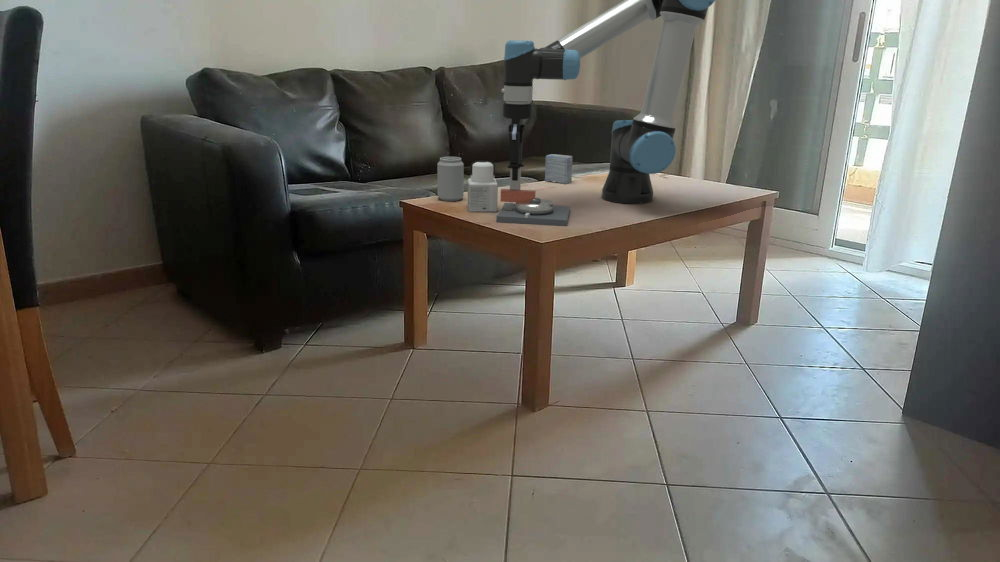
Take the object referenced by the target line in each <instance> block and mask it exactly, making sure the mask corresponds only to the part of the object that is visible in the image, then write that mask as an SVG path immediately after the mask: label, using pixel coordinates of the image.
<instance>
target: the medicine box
mask: <svg viewBox="0 0 1000 562" xmlns="http://www.w3.org/2000/svg"><path fill="white" fill-rule="evenodd" d="M573 160H574V159H573V156H572V155H567V154H566V155H564V154H555V153H554V154H553V153H551V154H547V155H545V164H544V165H545V171H544V173H545V174H544V182H547V181H555V182H558V183H557V184H563V185H567V184H570V183H572V178H573ZM555 182H554V183H555Z"/></svg>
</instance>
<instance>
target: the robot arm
mask: <svg viewBox="0 0 1000 562" xmlns="http://www.w3.org/2000/svg"><path fill="white" fill-rule="evenodd" d="M715 2H716V0H622V1H621V2H619V3H617V4H616V5H614V6H612V7H611V8H609V9H607V10H606V11H604V12H602V13H600V14H599V15H597V16H595V17H594V18H592V19H590V20H589V21H586V22H585V23H584V24H582V25H580V26H578V27H577V28H575V29H572V30H571V31H570V32H568V33H567V34H565V35H563V36H561V37H559V38H558V39H557V40H555V41H553V42H552V43H550V44H548V45H546V46H545V47H540V48H536V47H535V43H534V41H533V40H520V39H519V40H514V39H513V40H512V39H511V40H507V41H506V43H505V46H504V57H503V88H501V90H500V92H501V93H503V101H504V103H503V104H502V106H503V107H502V117H503V118H504V119H505V118H506V119H511V122H510V124H509V125H508V137H509V138H508V139H509V140H508V141H509V163H508V164H509V165H507V169H509V170H510V171H509V172H510V173H509V189H514V190H521V184H522V183H521V179H522V178H521V177H522V168H524V164H522V163H523V147H524V146H523V145H524V137H525V135H524V134H525V131H526V124H523V122H524V121H523V120H527V119H528V120H529V119H531V118H532V111H533V105H532V103H531V102H532V101H533V94H534V93H533V89H534V86H533V81H534V80H558V81H559V80H561V81H567V80H569V81H570V80H575V79H577V78H578V77H579V74H580V69H581V59H582V58H584V57H585V56H588V55H589V54H590V53H592V52H595V51H596V50H597V49H599V48H601V47H603V46H604V45H606V44H608V43H609V42H611V41H612V40H615V39H616V38H618V37H620V36H622V35H623V34H624V33H627V32H629V31H630V30H632V29H634V28H635V27H638V25H641V24H642V23H644V22H646V21H648V20H651V21H654V20H656V19H658V18H660V17H661V18H662V20H663V23H662V27H661V31H660V36H659V39H658V43H657V47H656V51H655V55H654V59H653V63H652V67H651V69H650V73H649V78H648V83H647V87H646V90H645V91H646V92H645V95H644V97H643V98H644V99H643V103H642V107H641V110H640V112H639V114H638V115H636V116H634V117H633V119H622V120H620V119H619V120H615V121H613V124H612V130H611V140H610V141H611V142H610V143H611V145H610V155H609V156H610V157H609V158H610V159H609V172H608V174H607V177H606V179H605V181H604V184H603V187H602V189H601V198H602V199H603V200H605V201H608V202H613V203H620V204H646V203H651V202H652V201H653V200H654V189H653V185H652V181H651V176H650V174H651V175H655V174H659V173H661V172H663V171H665V170H666V169H668V167H670V165H671V164H672V163H673V161H674V159H675V157H676V149H677V148H676V144H675V140H674V137H675V132H676V128H677V126H676V125H675V123H674V122H673V117H674V114H675V110H676V106H677V103H678V102H677V101H678V98H679V95H680V91H681V87H682V83H683V79H684V76H685V73H686V68H687V64H688V61H689V58H690V57H689V56H690V53H691V49H692V45H693V42H694V38H695V35H696V30H697V28H698V27H699V26H701V25H702V24H703V23H705V20H706V16H707V13H708V9H709V7H711V6H712V5H713V4H714V3H715Z"/></svg>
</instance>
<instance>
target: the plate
mask: <svg viewBox="0 0 1000 562" xmlns="http://www.w3.org/2000/svg"><path fill="white" fill-rule="evenodd" d="M570 212H571V206H570V205H555V204H554V209H553V212H552V213H548V214H530V213H526V214H525V213H520V212H518V211H516V202H503V205H502V207H501V208H500V210H499V212H498V213H497V215H496V217H495V220H496V221H495V222H496V223H510V224H528V225H540V226H541V225H544V226H559V227H560V226H561V227H562V226H563V227H567V226H568V222H569V217H570Z"/></svg>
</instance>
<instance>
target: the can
mask: <svg viewBox="0 0 1000 562" xmlns="http://www.w3.org/2000/svg"><path fill="white" fill-rule="evenodd" d="M464 164H465V163H464V162H463V161H462V158H461V157H460V156H442V157H440V158H439V161H438V162H437V167H436V168H437V169H436V170H437V171H436V173H437V197H438V198H439V199H440V200H441V201H443V202H458V201H461V200H462V198H464V193H465V191H464V189H465V188H464V179H465V178H464V177H465V176H464V171H465V170H464V167H465V165H464Z"/></svg>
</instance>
